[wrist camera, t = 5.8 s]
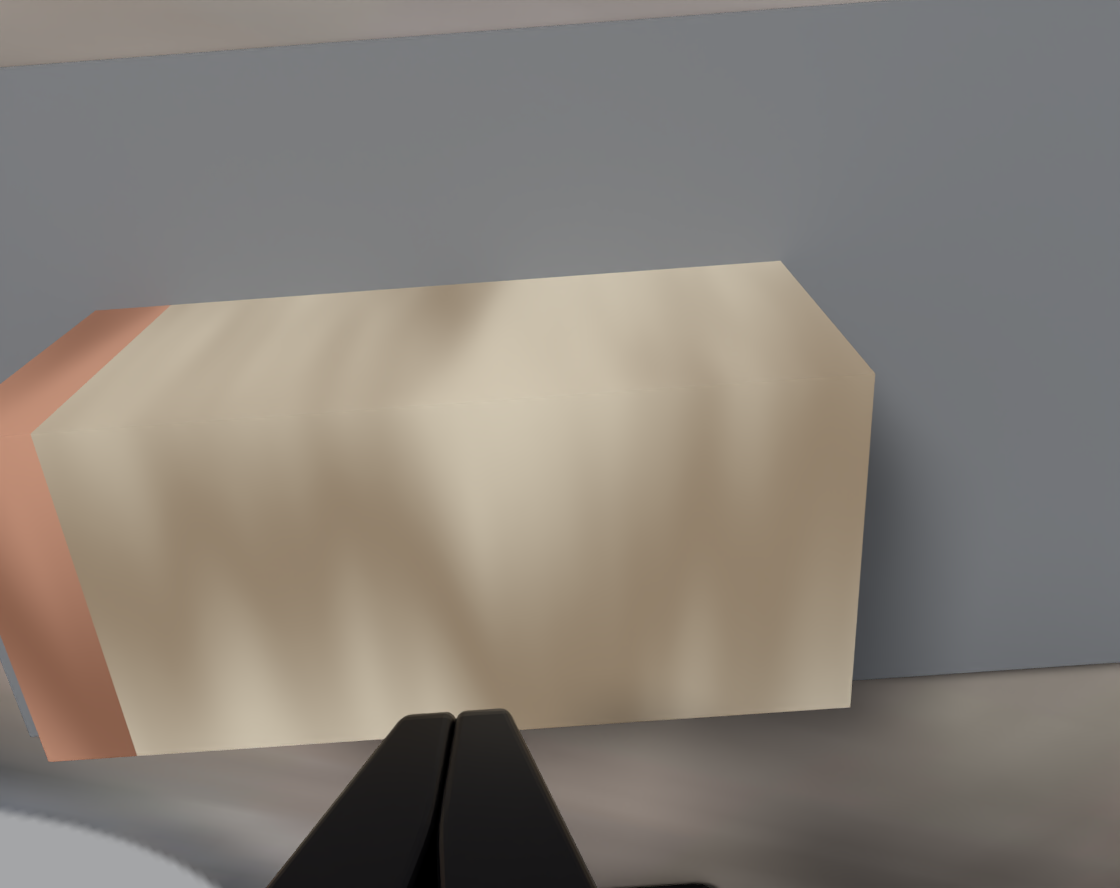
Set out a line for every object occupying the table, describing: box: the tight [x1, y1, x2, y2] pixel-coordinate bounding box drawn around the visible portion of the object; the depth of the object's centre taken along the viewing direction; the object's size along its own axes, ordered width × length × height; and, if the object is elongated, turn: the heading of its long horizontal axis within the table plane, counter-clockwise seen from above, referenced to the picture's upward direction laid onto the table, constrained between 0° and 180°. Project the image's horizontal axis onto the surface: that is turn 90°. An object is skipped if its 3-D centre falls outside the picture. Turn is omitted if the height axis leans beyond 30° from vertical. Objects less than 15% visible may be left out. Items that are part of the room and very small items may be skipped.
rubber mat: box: [0, 0, 1120, 737], centre depth 14 cm, size 10×18×1 cm, turn 94°
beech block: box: [0, 261, 875, 762], centre depth 12 cm, size 4×4×9 cm
